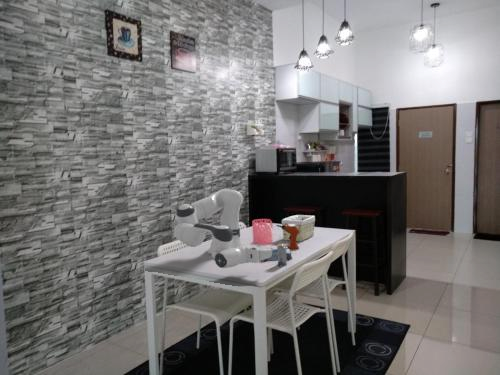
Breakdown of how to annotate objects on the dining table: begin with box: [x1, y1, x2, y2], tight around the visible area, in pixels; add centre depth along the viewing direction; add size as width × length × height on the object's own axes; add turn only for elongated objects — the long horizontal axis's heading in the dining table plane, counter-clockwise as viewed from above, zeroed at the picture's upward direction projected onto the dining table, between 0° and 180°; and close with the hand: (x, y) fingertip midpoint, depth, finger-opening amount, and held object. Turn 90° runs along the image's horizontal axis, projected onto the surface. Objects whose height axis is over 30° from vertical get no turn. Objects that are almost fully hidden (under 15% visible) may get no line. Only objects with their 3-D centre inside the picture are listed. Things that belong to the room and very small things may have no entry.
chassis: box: [262, 247, 293, 262], centre depth 225 cm, size 18×14×4 cm
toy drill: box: [276, 224, 300, 251], centre depth 246 cm, size 5×19×15 cm, turn 44°
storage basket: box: [281, 214, 316, 242], centre depth 272 cm, size 24×16×15 cm
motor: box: [276, 243, 288, 267], centre depth 209 cm, size 5×5×11 cm
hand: (265, 248), depth 200 cm, fingers open, 8 cm apart
